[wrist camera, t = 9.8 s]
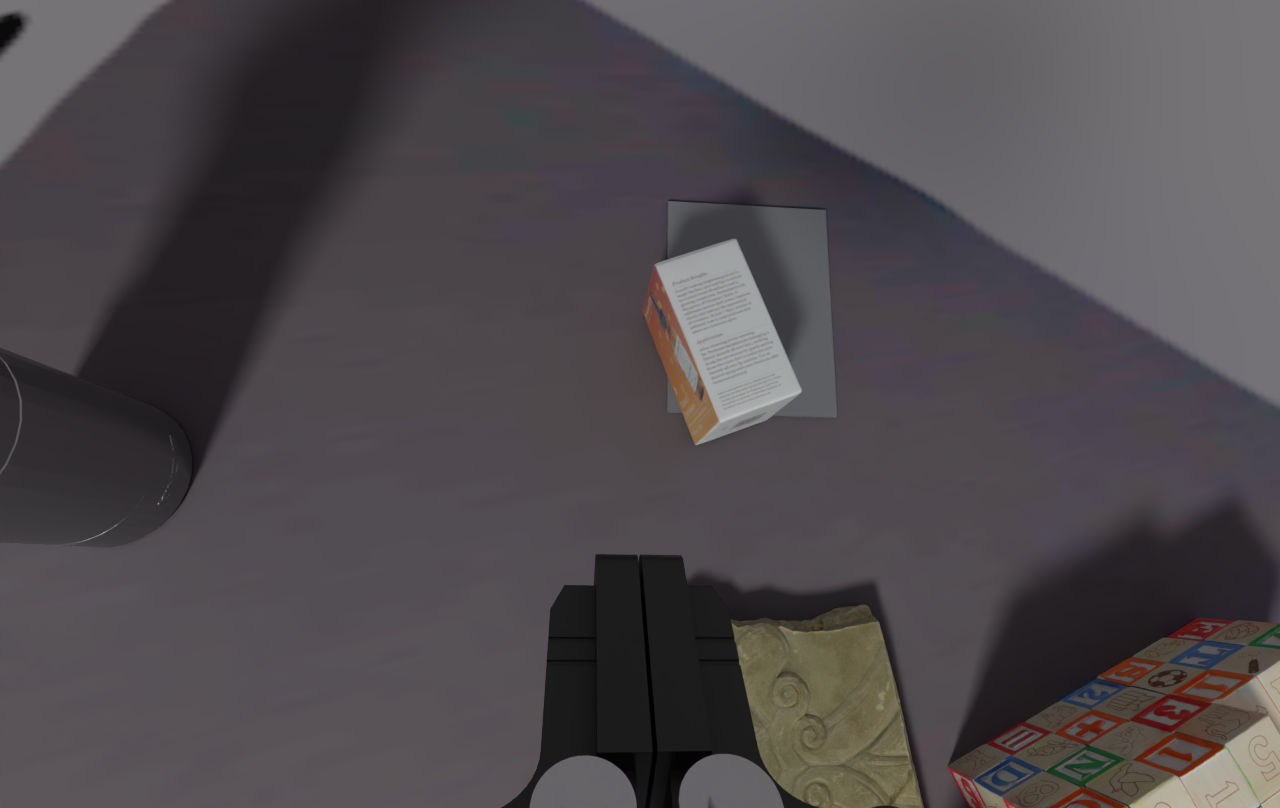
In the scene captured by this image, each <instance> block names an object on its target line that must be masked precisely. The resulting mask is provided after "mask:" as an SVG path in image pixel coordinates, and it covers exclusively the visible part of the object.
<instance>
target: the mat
mask: <svg viewBox="0 0 1280 808" xmlns="http://www.w3.org/2000/svg"><path fill="white" fill-rule="evenodd" d="M730 239H736V240H737V241H738V243H739V246H740V248H741V251H742V253H743V255H744V257H745V260H746V262H747V264H748V266H749V269H750V271H751V274H752V276H753V278H754V280H755V283H756V285H757V287H758V289H759V292H760V294H761V296H762V299H763V301H764V303H765V306H766V308H767V310H768V313H769V315H770V317H771V319H772V322H773V324H774V326H775V329H776V331H777V333H778V336H779V338H780V340H781V343H782V345H783V347H784V349H785V352H786V354H787V356H788V359H789V361H790V363H791V365H792V368H793V370H794V372H795V375H796V377H797V379H798V382H799V384H800V386H801V388H802V392H801V393H800V394H799V395H798V396H797V397H795V398H794V399H793V400H792V401H790V402H789V403H788V404H787V405H785V406H784V407H783V408H781V409H780V410H779V411H778V412H776V413H775V414H774V415H773V416H788V417H820V418H837V404H836V386H835V368H834V350H833V332H832V314H831V296H830V278H829V260H828V242H827V225H826V210H815V209H798V208H781V207H763V206H746V205H729V204H711V203H694V202H676V201H668V218H667V260H668V259H671V258H674V257H677V256H680V255H684V254H687V253H690V252H693V251H696V250H699V249H702V248H705V247H708V246H711V245H715V244H718V243H721V242H724V241H727V240H730ZM667 413H682V411H681V409H680V406H679V403H678V401H677V399H676V396H675V393H674V391H673V388H672V386H671V383H670V381H669V378H668V376H667Z"/></svg>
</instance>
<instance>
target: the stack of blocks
mask: <svg viewBox="0 0 1280 808" xmlns="http://www.w3.org/2000/svg"><path fill="white" fill-rule="evenodd" d="M948 768H949V770H950V772H951V774H952V776H953V778H954V780H955V782H956V783H957V785H958V787H959V789H960V791H961V793H962V795H963V797H964V799H965V801H966V803H967V804H968V806H969V808H1280V624H1279V623H1270V622H1257V621H1245V620H1237V621H1233V620H1223V619H1211V618H1197V619H1195V620H1193V621H1192V622H1190V623H1189V624H1187V625H1185V626H1184V627H1182V628H1181V629H1179V630H1177V631H1176V632H1174V633H1173V634H1171V635H1169V636H1168V637H1167V638H1161V639H1160V640H1158V641H1156V642H1155V643H1153V644H1151V645H1150V646H1148V647H1146V648H1145V649H1143V650H1141V651H1140V652H1138V653H1136V654H1135V655H1133V656H1132V657H1131V658H1128V659H1126V660H1124V661H1123V662H1121V663H1119V664H1118V665H1116V666H1114V667H1112V668H1111V669H1109V670H1107V671H1106V672H1104V673H1102V674H1101V675H1099V676H1097V678H1096V679H1095V680H1093V681H1091V682H1089V683H1088V684H1086V685H1085V686H1083V687H1081V688H1079V689H1078V690H1076V691H1075V692H1073V693H1071V694H1069V695H1068V696H1066V697H1064V698H1063V699H1062V700H1061V701H1059V702H1057V703H1055V704H1053V705H1052V706H1050V707H1048V708H1047V709H1045V710H1043V711H1042V712H1040V713H1038V714H1037V715H1035V716H1033V717H1032V718H1030V719H1028V720H1027V721H1026V722H1021V723H1019V724H1018V725H1016V726H1014V727H1012V728H1011V729H1009V730H1008V731H1006V732H1004V733H1002V734H1001V735H999V736H997V737H996V738H994V739H992V740H991V741H989V742H987V743H986V744H984V745H981V746H980V747H978V748H976V749H974V750H973V751H971V752H969V753H968V754H966V755H964V756H963V757H961V758H959V759H958V760H956V761H954V762H952V763H951V764H949V765H948Z"/></svg>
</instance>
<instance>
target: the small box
mask: <svg viewBox="0 0 1280 808" xmlns="http://www.w3.org/2000/svg"><path fill="white" fill-rule="evenodd" d="M642 313H643V315H644V318H645V320H646V323H647V325H648V328H649V330H650V333H651V335H652V338H653V340H654V343H655V345H656V348H657V350H658V353H659V355H660V358H661V360H662V363H663V366H664V368H665V371H666V373H667V376H668V378H669V381H670V383H671V386H672V388H673V391H674V393H675V396H676V399H677V401H678V403H679V406H680V409H681V411H682V414H683V416H684V419H685V421H686V424H687V426H688V429H689V431H690V434H691V436H692V439H693V441H694V444H695V445H699V444H701V443H704V442H707V441H710V440H713V439H716V438H718V437H721V436H724V435H727V434H729V433H732V432H735V431H738V430H741V429H743V428H746V427H749V426H752V425H755V424H757V423H760V422H763V421H766V420H767V419H769V418H770V417H771V416H773V415H774V414H775V413H776V412H778V411H779V410H780V409H781V408H783V407H784V406H785V405H787V404H788V403H789V402H790V401H792V400H793V399H794V398H795V397H797V396H798V395H799V394H800V393H801V392H802V388H801V386H800V384H799V382H798V379H797V377H796V375H795V372H794V370H793V368H792V365H791V363H790V361H789V359H788V356H787V354H786V352H785V349H784V347H783V345H782V343H781V340H780V338H779V336H778V333H777V331H776V329H775V326H774V324H773V322H772V319H771V317H770V315H769V313H768V310H767V308H766V306H765V303H764V301H763V299H762V296H761V294H760V292H759V289H758V287H757V285H756V283H755V280H754V278H753V276H752V274H751V271H750V269H749V266H748V264H747V262H746V260H745V257H744V255H743V253H742V251H741V248H740V246H739V243H738V241H737V240H736V239H730V240H727V241H724V242H721V243H718V244H715V245H711V246H708V247H705V248H702V249H699V250H696V251H693V252H690V253H687V254H684V255H680V256H677V257H674V258H671V259H668V260H665V261H662V262H659V263H657V264H655V265H654V268H653V272H652V276H651V280H650V284H649V287H648V291H647V295H646V298H645V302H644V306H643V309H642Z"/></svg>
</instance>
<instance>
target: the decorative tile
mask: <svg viewBox="0 0 1280 808" xmlns="http://www.w3.org/2000/svg"><path fill="white" fill-rule="evenodd" d="M731 623H732V627H733V632H734V637H735V638H734V641H735V643H736V646H737V651H738V655H739V665H741V670H742V674H743V679H744V684H745V688H746V693H747V698H748V702H749V707H750V712H751V717H752V721H753V726H754V731H755V735H756V740H757V745H758V749H759V752H760V756H761V758H762V761H763V763H764V765H765V767H766V768H767V770H768V772H769V773H770V775H771V776H772V777H773V778H774V780H775V781H776V782H777V783H778V784H779V785H780V786H781V787H782V788H783V789H784V790H786V791H787V792H788V793H790V794H791V795H792V796H794V797H796V798H797V799H799V800H801V801H803V802H805V803H808V804H810V805H813V806H816V807H819V808H872V807H875V806H885V805H886V806H895V807H898V808H924V806H923V802H922V798H921V794H920V789H919V784H918V780H917V776H916V771H915V767H914V763H913V760H912V756H911V751H910V746H909V741H908V735H907V731H906V726H905V722H904V717H903V713H902V709H901V704H900V700H899V696H898V691H897V687H896V683H895V679H894V675H893V671H892V667H891V664H890V660H889V656H888V652H887V649H886V645H885V641H884V637H883V634H882V630H881V627H880V623H879V621H878V620H877V619H876V618H875V617H874V616H872V613H871V611H870V608H869V607H868V606H867V605H858V606H846V607H839V608H835V609H832V610H831V611H829V612H826V613H823V614H821V615H819V616H817V617H816V618H814V619H812V620H803V621H784V620H780V621H776V620H772V619H769V618H760V619H757V620H747V621H736V620H733V619H731Z"/></svg>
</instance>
